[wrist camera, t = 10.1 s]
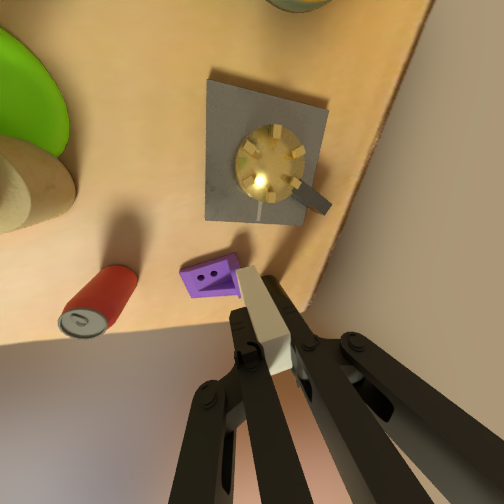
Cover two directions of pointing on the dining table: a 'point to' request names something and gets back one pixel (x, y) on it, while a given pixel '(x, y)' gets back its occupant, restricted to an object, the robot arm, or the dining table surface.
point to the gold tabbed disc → (275, 168)
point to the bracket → (212, 277)
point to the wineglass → (30, 99)
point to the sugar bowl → (31, 185)
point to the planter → (298, 5)
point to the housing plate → (234, 132)
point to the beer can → (98, 303)
